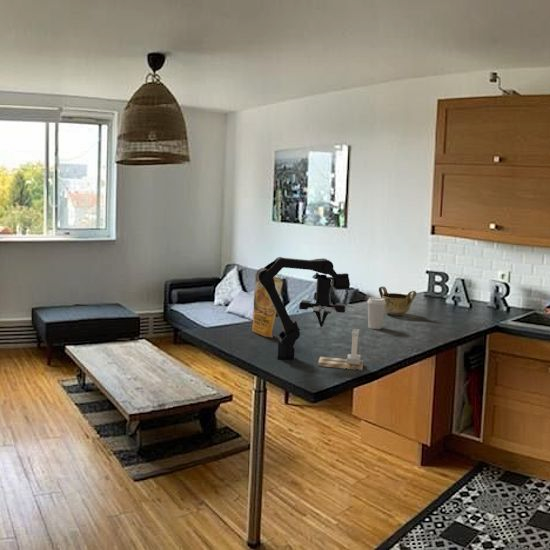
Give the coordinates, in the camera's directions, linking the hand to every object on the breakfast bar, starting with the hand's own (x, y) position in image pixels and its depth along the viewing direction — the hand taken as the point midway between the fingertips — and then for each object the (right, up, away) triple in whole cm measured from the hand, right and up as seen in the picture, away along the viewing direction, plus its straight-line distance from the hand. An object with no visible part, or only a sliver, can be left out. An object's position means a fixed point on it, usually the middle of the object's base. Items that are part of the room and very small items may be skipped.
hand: (321, 326), depth 253 cm
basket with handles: (+49, -1, +94) cm, 106 cm away
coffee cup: (+32, -6, +60) cm, 68 cm away
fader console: (+7, -15, -8) cm, 18 cm away
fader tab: (+12, -13, -9) cm, 20 cm away
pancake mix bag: (-25, -7, +37) cm, 45 cm away
